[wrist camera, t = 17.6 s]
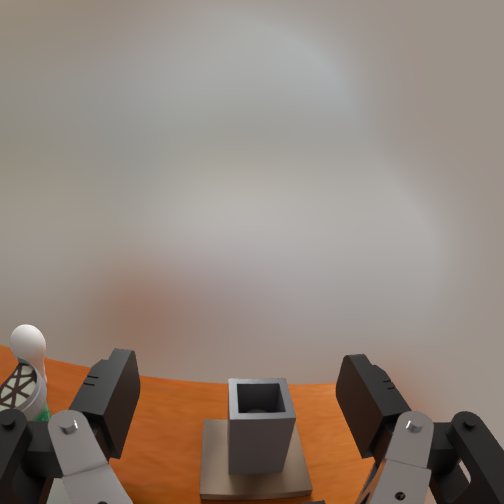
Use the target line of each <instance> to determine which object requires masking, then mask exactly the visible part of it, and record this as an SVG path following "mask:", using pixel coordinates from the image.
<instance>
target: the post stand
mask: <svg viewBox="0 0 504 504" xmlns="http://www.w3.org/2000/svg"><path fill="white" fill-rule="evenodd" d="M247 413H267V412H266V411H264V410H261V409H252V410H249V411H248V412H247ZM227 422H228V420H217V419H204V424H203V440H202V457H201V476H200V498H201V499H211V500H259V499H276V498H288V497H298V496H307V495H310V494H311V492H312V490H313V489H312V485H311V481H310V477H309V474H308V470H307V466H306V462H305V458H304V454H303V450H302V446H301V442H300V438H299V434H298V430H297V427H296V423H295V425H294V429H293V433H292V437H291V441H290V445H289V449H288V453H287V457H286V460H285V464H284V468H283V472H278V473H261V474H228V446H227Z"/></svg>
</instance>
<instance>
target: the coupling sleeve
mask: <svg viewBox="0 0 504 504" xmlns="http://www.w3.org/2000/svg"><path fill="white" fill-rule="evenodd" d="M252 409H261V410H264V411H266V412H267V413H247V412H248V411H249V410H252ZM295 421H296V415H295V411H294V408H293V404H292V400H291V397H290V393H289V389H288V386H287V382H286V379H285V378H280V379H279V378H278V379H229V381H228V422H227V446H228V474H261V473H278V472H283V468H284V464H285V460H286V457H287V453H288V449H289V445H290V441H291V437H292V433H293V429H294V425H295Z"/></svg>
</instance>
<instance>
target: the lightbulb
mask: <svg viewBox="0 0 504 504" xmlns="http://www.w3.org/2000/svg"><path fill="white" fill-rule="evenodd" d="M10 348H11V351H12V353H13V355H14V357H15V358H16V359H17V360H18V358H17V357H20V358H23V359H26V360H27V361H29V362H30V363H31V364H32V365H33V366H34V367H35V368H36V369H37V370H38V372H39V373H40V375H41V376H42V378H43V380H44V382H45V384H46V383H47V378H46V375H45V367H44V356H45V351H46V343H45V339H44V337H43V335H42V334H41V332H40V331H39V330H38V329H36V328H35V327H34V326H31V325H21V326H19V327H17V328H16V329H15V330H14V331H13V333H12V334H11V338H10Z"/></svg>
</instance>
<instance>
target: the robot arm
mask: <svg viewBox="0 0 504 504" xmlns="http://www.w3.org/2000/svg"><path fill="white" fill-rule="evenodd" d="M139 395H140V379H139V374H138V367H137V361H136V356H135V352H134V351H133V350H124V349H114V350H113V352H112V354H111V355H110V357H109V359H108V360H100V361H99V362H98V363H96V364H95V365H94V366H92V368H91V370H90V372H89V373H88V375H87V377H86V378H85V380H84V382H83V384H82V386H81V387H80V389H79V391H78V393H77V395H76V396H75V398H74V400H73V402H72V404H71V406H70V407H69V409H68V410H63V411H60V412H58V413H56V414H54V415H53V416H52V417H51V418H50V420H49V421H28V420H27V418H26V416H25V415H24V413H23V412H21V411H20V410H18V409H13V408H10V409H5V410H2V411H0V504H46V503H47V500H48V496H49V493H50V489H51V487H52V484H53V480H54V478H62V480H63V483H64V486H65V488H66V491H67V493H68V495H69V498H70V500H71V502H72V504H133V503H132V501H131V500H130V498H129V497H128V495H127V493H126V492H125V490H124V489H123V487H122V485H121V484H120V482H119V480H118V479H117V477H116V475H115V473H114V472H113V470H112V468H111V466H110V465H109V463H108V462H109V459H110V457H111V458H116V459H120V457H121V454H122V450H123V447H124V443H125V440H126V437H127V434H128V430H129V427H130V424H131V421H132V417H133V414H134V411H135V408H136V405H137V402H138V399H139ZM336 398H337V401H338V403H339V405H340V408H341V410H342V412H343V414H344V417H345V419H346V421H347V424H348V426H349V428H350V431H351V433H352V435H353V438H354V440H355V442H356V445H357V447H358V449H359V452H360V454H361V457H362V459H363V458H368V457H374V459H375V462H374V464H373V466H372V468H371V470H370V473H369V475H368V477H367V479H366V482H365V484H364V486H363V488H362V490H361V492H360V495H359V497H358V499H357V501H356V502H355V504H424V501H425V497H426V493H427V489H428V485H429V487H430V489H431V492H432V494H433V496H434V498H435V500H436V503H437V504H504V450H503V449H502V448H501V446H500V445H499V443H498V442H497V440H496V439H495V438H494V436H493V435H492V434H491V432H490V431H489V429H488V428H487V427H486V425H485V424H484V423H483V421H482V420H481V419H480V417H478V416H477V415H476V414H473V413H471V412H467V411H465V412H464V411H463V412H459V413H457V414H456V415H455V416H454V417H453V419H452V421H451V422H449V423H433V422H432V420H431V419H430V418H429V417H428V416H427V415H425V414H423V413H421V412H417V411H412V410H411V409H410V408H409V406H408V404H407V403H406V402H405V400H404V399H403V397H402V396H401V394H400V393H399V391H398V390H397V389H396V388H395V385H394V384H393V382H391V379H390V378H389V376H388V375H387V374H386V372H385V371H384V370H382V369H381V368H379V367H378V366H376V365H372V364H371V363H370V361H369V360H368V359H367V357H366V356H365V355H364V354H356V355H346V356H345V357H344V358H343V362H342V366H341V369H340V373H339V377H338V381H337V384H336ZM461 460H462V461H463V463H464V465H465V466H466V468H467V470H468V471H469V473H470V476H471V482H470V484H469V482H468V480H467V478H466V476H465V475H464V473H463V471H462V469H461V468H460V466H459V463H460V462H461ZM301 504H325V501H324V500H323V501H316V502H309V503H301Z"/></svg>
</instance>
